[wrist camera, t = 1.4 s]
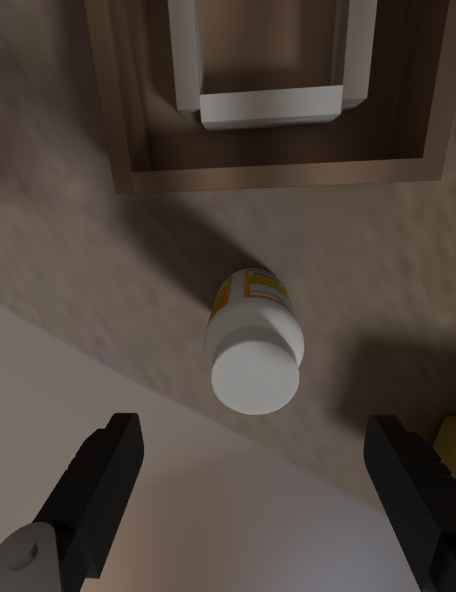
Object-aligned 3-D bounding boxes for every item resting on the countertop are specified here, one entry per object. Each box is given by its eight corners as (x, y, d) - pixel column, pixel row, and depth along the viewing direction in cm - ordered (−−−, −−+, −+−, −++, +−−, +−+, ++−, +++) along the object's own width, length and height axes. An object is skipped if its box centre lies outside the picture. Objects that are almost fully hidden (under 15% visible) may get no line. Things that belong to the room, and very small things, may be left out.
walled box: (446, -200, 13) (556, -417, 8) (392, 182, 19) (440, 180, 14) (102, -153, 14) (32, -319, 10) (147, 192, 20) (115, 194, 15)
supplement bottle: (231, 341, 23) (219, 439, 14) (205, 280, 22) (174, 347, 13) (296, 321, 22) (330, 412, 13) (275, 256, 21) (296, 309, 12)
